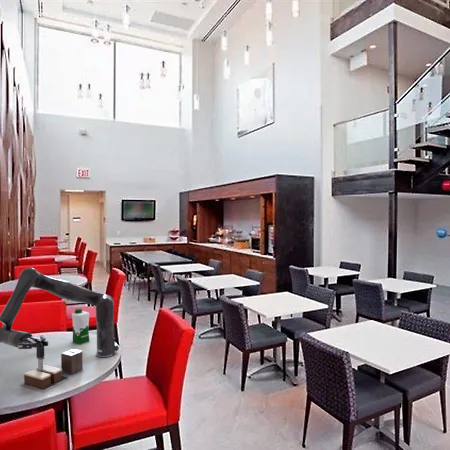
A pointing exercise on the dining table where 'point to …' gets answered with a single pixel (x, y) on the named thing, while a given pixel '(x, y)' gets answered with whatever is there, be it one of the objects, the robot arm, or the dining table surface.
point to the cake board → (49, 385)
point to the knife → (40, 355)
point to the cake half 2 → (53, 372)
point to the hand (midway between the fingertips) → (44, 344)
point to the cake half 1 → (37, 379)
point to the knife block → (71, 361)
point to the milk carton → (80, 326)
